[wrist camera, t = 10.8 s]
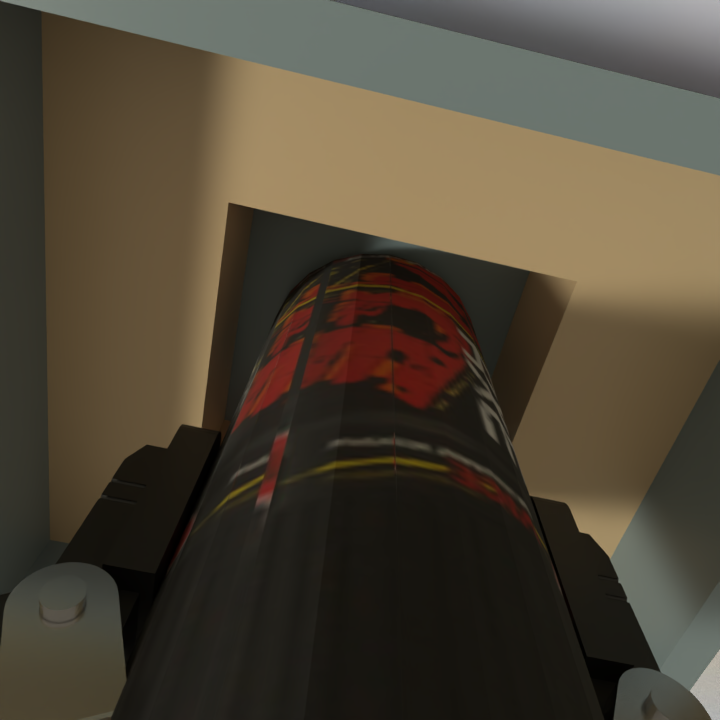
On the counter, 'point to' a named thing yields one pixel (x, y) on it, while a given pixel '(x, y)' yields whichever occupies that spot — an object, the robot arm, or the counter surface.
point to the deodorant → (363, 532)
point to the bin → (353, 237)
